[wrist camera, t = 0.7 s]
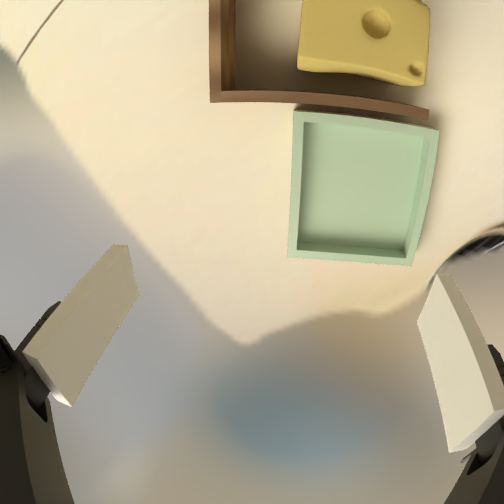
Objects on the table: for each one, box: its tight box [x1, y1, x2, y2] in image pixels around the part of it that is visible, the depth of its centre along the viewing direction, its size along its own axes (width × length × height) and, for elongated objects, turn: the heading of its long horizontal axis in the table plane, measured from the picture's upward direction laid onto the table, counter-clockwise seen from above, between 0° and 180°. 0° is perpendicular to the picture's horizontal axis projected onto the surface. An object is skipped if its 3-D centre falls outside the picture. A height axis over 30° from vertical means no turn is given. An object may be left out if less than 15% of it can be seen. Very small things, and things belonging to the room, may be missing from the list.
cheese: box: [297, 0, 430, 86], centre depth 19 cm, size 10×11×10 cm
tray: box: [287, 110, 440, 266], centre depth 31 cm, size 16×15×2 cm
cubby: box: [209, 0, 429, 120], centre depth 21 cm, size 16×19×6 cm
